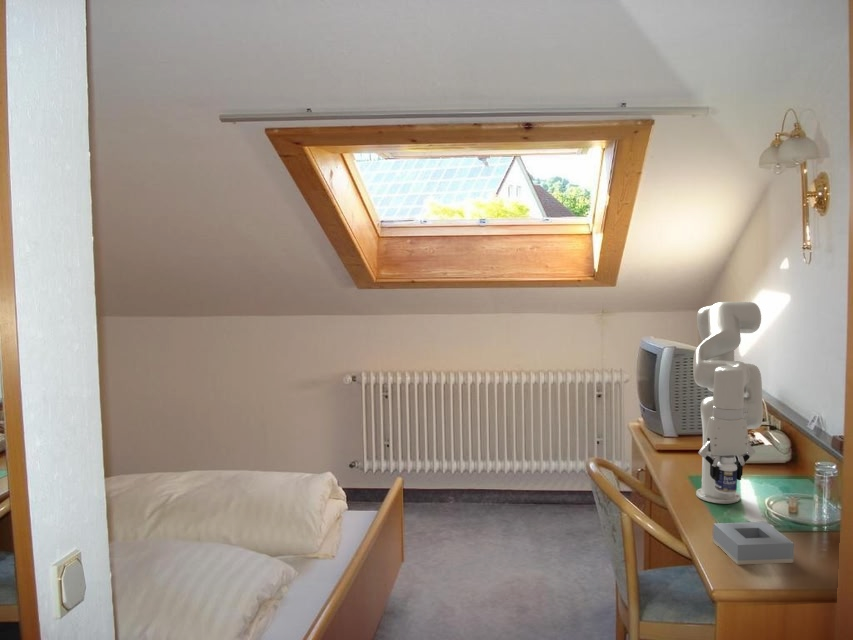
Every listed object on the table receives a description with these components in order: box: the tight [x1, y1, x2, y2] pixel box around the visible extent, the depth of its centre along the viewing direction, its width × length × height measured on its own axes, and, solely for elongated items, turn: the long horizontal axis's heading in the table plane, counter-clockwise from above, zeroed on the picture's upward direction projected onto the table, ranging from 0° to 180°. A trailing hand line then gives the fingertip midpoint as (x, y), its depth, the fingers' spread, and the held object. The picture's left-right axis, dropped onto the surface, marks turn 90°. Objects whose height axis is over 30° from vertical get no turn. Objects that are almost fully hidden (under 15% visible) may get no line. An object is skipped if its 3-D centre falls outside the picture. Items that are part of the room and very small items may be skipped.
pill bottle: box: [715, 456, 738, 494], centre depth 199 cm, size 5×5×10 cm
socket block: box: [712, 521, 795, 566], centre depth 189 cm, size 14×14×5 cm
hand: (726, 478), depth 199 cm, fingers closed on pill bottle, 5 cm apart
